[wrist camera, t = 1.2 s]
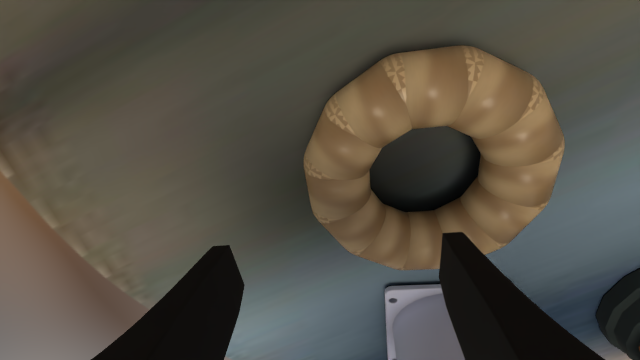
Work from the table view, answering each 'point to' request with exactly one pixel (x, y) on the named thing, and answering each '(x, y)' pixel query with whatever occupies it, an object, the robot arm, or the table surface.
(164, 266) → the table surface
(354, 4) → the table surface
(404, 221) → the ring
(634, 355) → the mug
